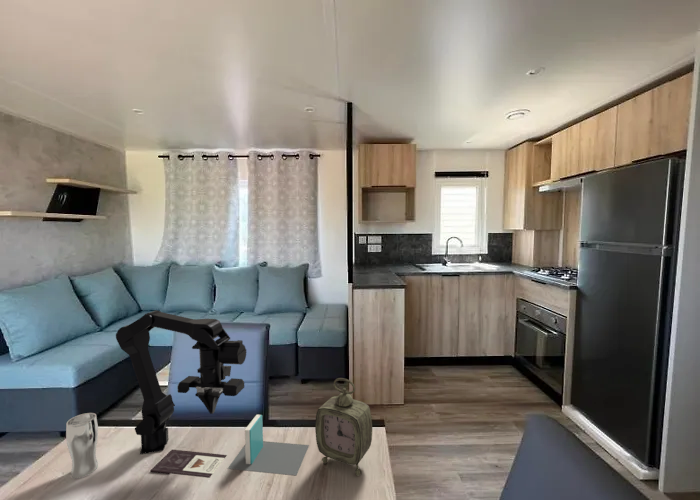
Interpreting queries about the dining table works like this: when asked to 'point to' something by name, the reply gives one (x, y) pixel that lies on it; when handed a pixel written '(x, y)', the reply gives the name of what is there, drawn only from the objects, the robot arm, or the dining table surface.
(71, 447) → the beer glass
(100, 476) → the dining table surface
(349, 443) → the tabletop clock
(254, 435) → the tile
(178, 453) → the chocolate bar
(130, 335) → the robot arm
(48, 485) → the dining table surface
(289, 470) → the mat
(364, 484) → the dining table surface
